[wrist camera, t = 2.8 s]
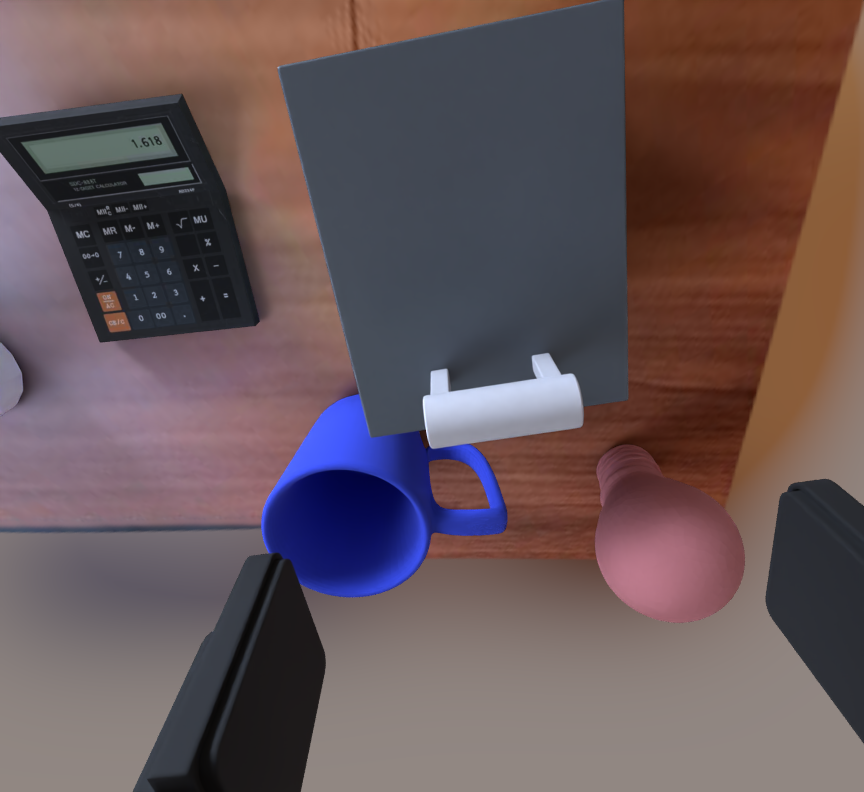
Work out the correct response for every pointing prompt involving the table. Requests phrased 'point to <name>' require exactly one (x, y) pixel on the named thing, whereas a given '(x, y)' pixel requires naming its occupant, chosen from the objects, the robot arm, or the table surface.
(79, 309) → the table surface
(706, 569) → the light bulb
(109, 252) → the calculator
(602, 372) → the lid
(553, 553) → the table surface
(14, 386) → the cup
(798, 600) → the robot arm
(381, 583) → the mug
